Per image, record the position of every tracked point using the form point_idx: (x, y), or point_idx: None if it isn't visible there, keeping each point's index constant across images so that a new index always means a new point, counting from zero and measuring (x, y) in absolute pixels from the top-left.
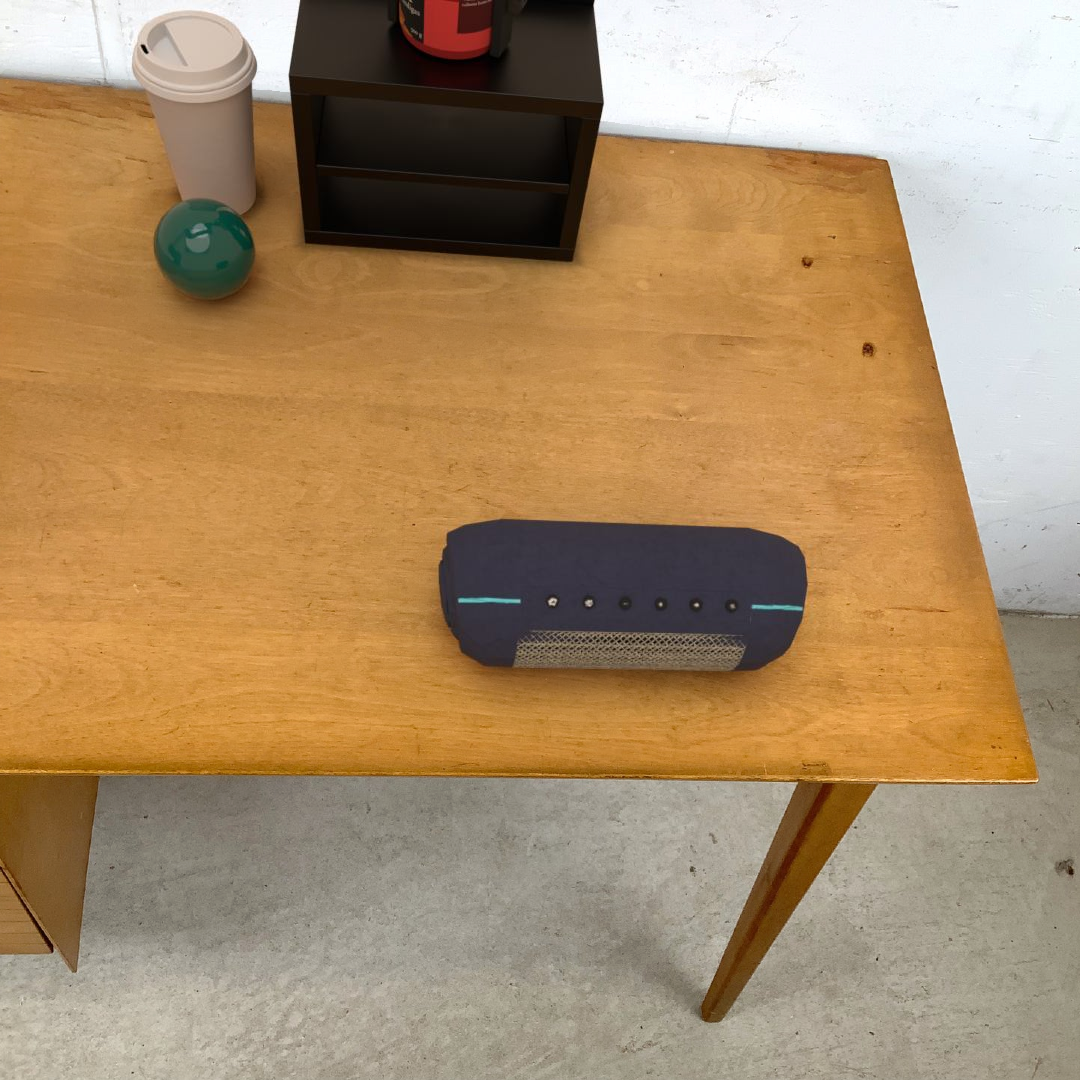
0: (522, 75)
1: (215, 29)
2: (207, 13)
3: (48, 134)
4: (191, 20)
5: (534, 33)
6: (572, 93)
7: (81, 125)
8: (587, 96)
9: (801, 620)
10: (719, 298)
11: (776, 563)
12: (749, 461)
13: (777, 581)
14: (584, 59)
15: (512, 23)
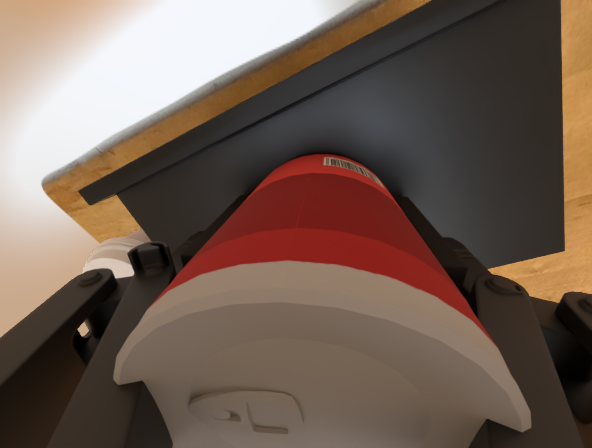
0: None
1: (121, 270)
2: (100, 260)
3: (95, 220)
4: (99, 268)
5: (438, 149)
6: (513, 251)
7: (99, 205)
8: (537, 249)
9: None
10: (586, 157)
11: None
12: (585, 287)
13: None
14: (534, 174)
15: (415, 206)
